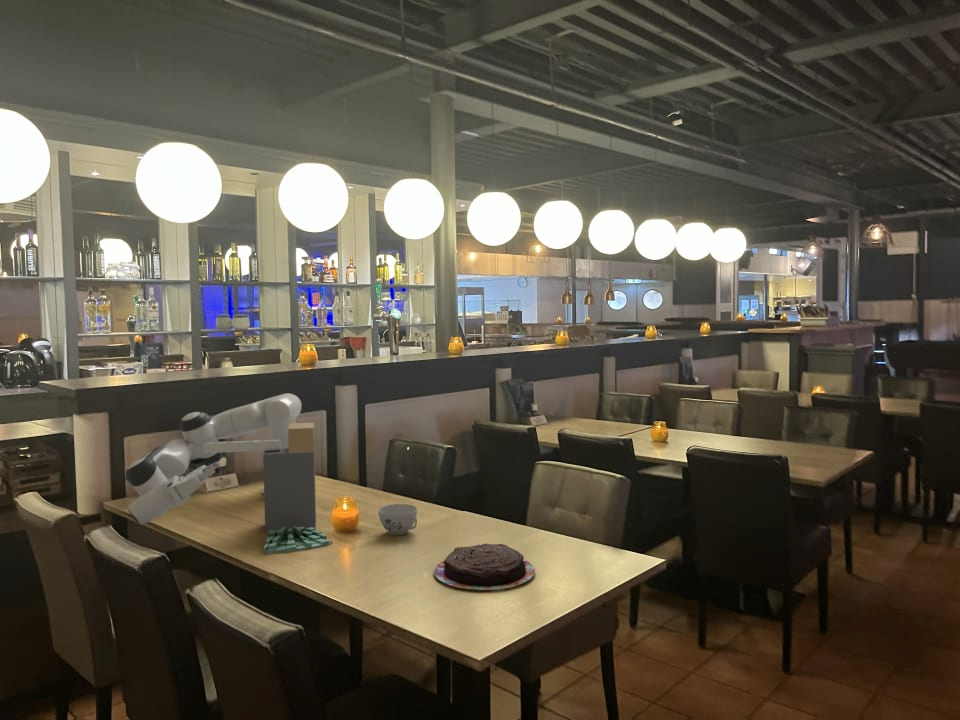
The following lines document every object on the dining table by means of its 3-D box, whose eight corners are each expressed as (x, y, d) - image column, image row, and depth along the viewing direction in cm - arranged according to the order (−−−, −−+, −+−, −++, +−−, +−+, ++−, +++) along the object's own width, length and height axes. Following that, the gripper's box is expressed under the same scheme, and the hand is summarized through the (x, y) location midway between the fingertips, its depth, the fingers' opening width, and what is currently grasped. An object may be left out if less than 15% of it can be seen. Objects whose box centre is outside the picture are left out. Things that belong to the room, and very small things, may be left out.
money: (305, 533, 241) (305, 519, 241) (333, 545, 230) (332, 529, 229) (248, 547, 228) (248, 532, 227) (274, 560, 216) (274, 544, 215)
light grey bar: (204, 451, 242) (204, 442, 242) (280, 448, 247) (280, 439, 247) (203, 453, 239) (203, 444, 239) (280, 449, 244) (279, 440, 244)
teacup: (370, 533, 240) (370, 509, 239) (399, 524, 249) (398, 501, 249) (401, 543, 230) (401, 517, 229) (430, 533, 239) (430, 509, 239)
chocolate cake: (447, 599, 186) (447, 574, 186) (424, 563, 213) (423, 540, 212) (550, 587, 194) (550, 562, 194) (515, 553, 221) (515, 531, 220)
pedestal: (268, 522, 252) (265, 424, 250) (316, 519, 256) (313, 422, 253) (265, 533, 241) (262, 429, 238) (315, 530, 244) (313, 428, 241)
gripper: (189, 490, 250) (225, 468, 252) (177, 505, 230) (216, 481, 232) (178, 474, 249) (215, 452, 251) (165, 489, 229) (205, 465, 231)
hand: (216, 466), depth 242 cm, fingers open, 8 cm apart
